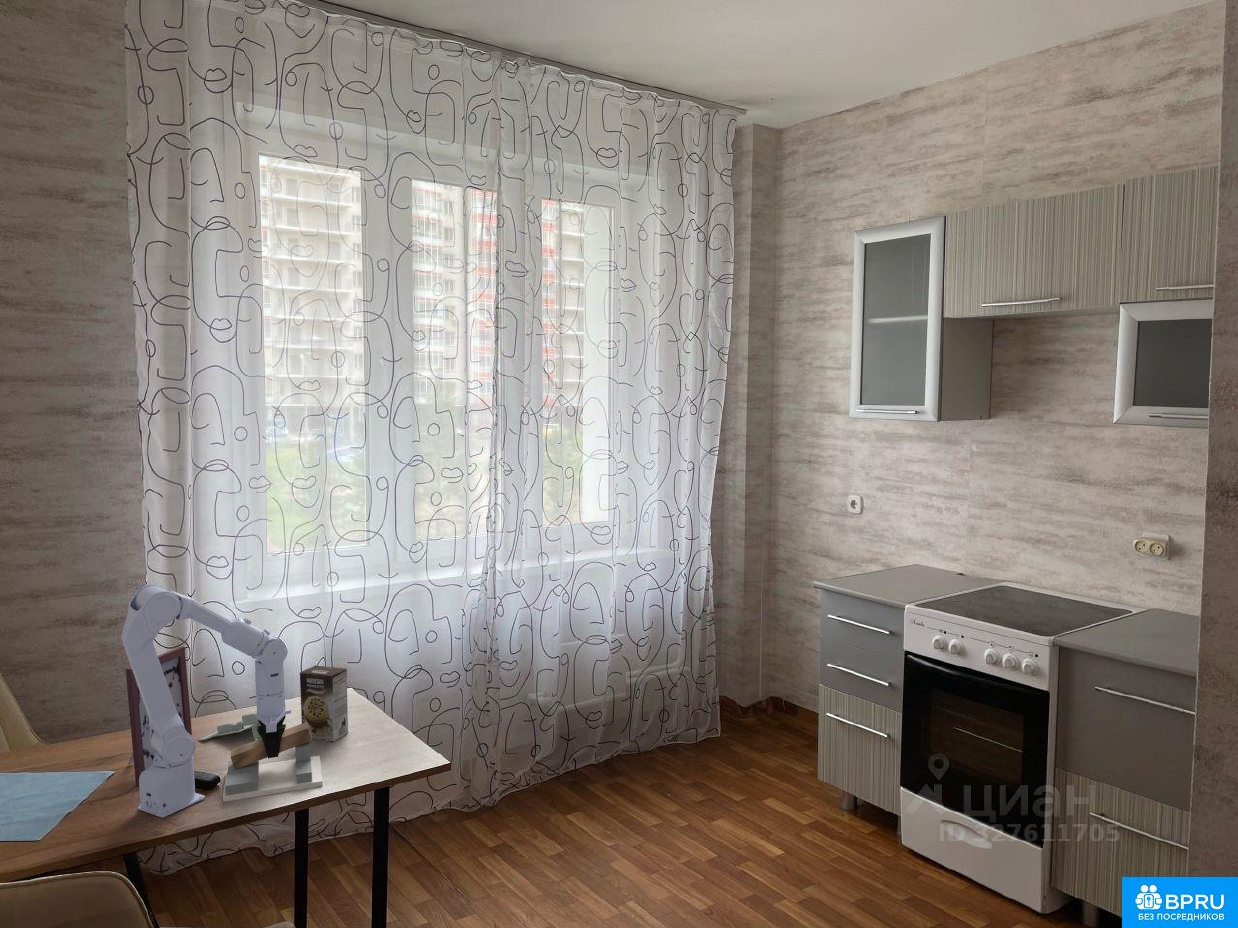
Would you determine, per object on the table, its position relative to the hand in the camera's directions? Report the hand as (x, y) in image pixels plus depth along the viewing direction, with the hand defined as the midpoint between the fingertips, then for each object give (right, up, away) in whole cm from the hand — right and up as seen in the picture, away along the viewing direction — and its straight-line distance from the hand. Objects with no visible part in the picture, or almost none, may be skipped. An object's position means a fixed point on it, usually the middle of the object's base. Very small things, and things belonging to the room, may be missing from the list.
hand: (273, 752), depth 189 cm
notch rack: (+1, -5, -3) cm, 6 cm away
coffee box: (+4, -3, +21) cm, 22 cm away
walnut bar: (0, 0, 0) cm, 0 cm away
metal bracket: (-17, -4, +23) cm, 29 cm away
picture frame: (-29, -5, +4) cm, 30 cm away
